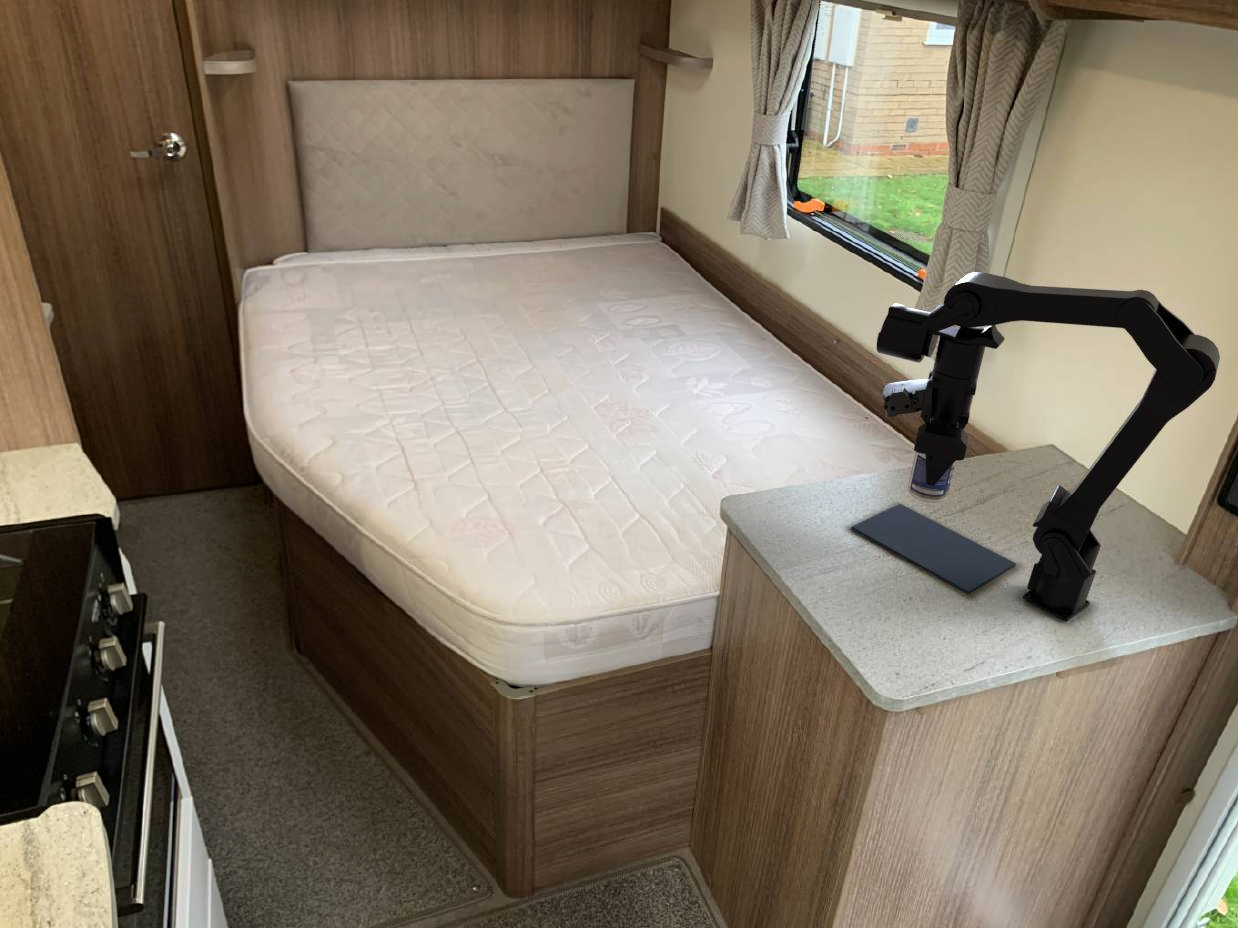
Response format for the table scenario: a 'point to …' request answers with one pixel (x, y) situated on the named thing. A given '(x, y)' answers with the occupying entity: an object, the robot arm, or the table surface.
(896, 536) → the rubber mat
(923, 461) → the pill bottle
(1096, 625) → the table surface
